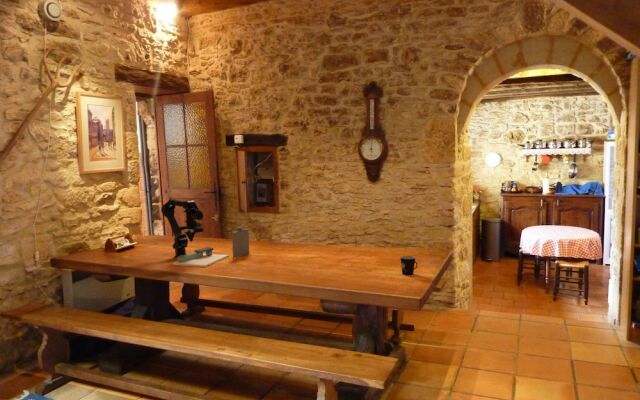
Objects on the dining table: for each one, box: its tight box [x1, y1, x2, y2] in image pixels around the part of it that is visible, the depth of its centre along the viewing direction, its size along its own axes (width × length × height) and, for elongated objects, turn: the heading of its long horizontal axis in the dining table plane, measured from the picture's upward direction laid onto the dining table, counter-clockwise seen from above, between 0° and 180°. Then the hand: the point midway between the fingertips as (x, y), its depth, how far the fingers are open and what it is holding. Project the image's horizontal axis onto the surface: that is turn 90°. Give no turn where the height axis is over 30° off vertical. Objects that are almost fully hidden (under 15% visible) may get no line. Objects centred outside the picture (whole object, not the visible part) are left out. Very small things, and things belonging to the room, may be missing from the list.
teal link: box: [177, 252, 204, 262], centre depth 328 cm, size 20×4×4 cm, turn 148°
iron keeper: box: [194, 246, 214, 256], centre depth 337 cm, size 12×6×5 cm, turn 144°
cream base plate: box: [172, 253, 229, 268], centre depth 329 cm, size 24×31×1 cm
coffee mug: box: [400, 255, 418, 276], centre depth 283 cm, size 12×9×10 cm
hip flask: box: [231, 226, 250, 258], centre depth 343 cm, size 16×4×20 cm, turn 150°
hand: (191, 241), depth 334 cm, fingers closed
